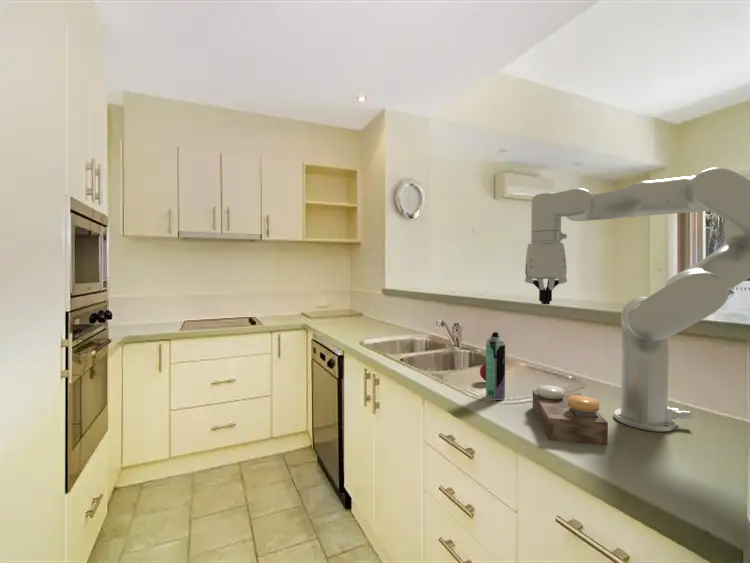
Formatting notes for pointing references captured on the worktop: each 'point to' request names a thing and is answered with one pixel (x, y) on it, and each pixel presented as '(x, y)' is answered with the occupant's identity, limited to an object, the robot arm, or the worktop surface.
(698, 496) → the worktop surface
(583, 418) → the button panel
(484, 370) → the onion
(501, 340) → the spray can
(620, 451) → the worktop surface
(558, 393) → the white button
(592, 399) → the orange button
